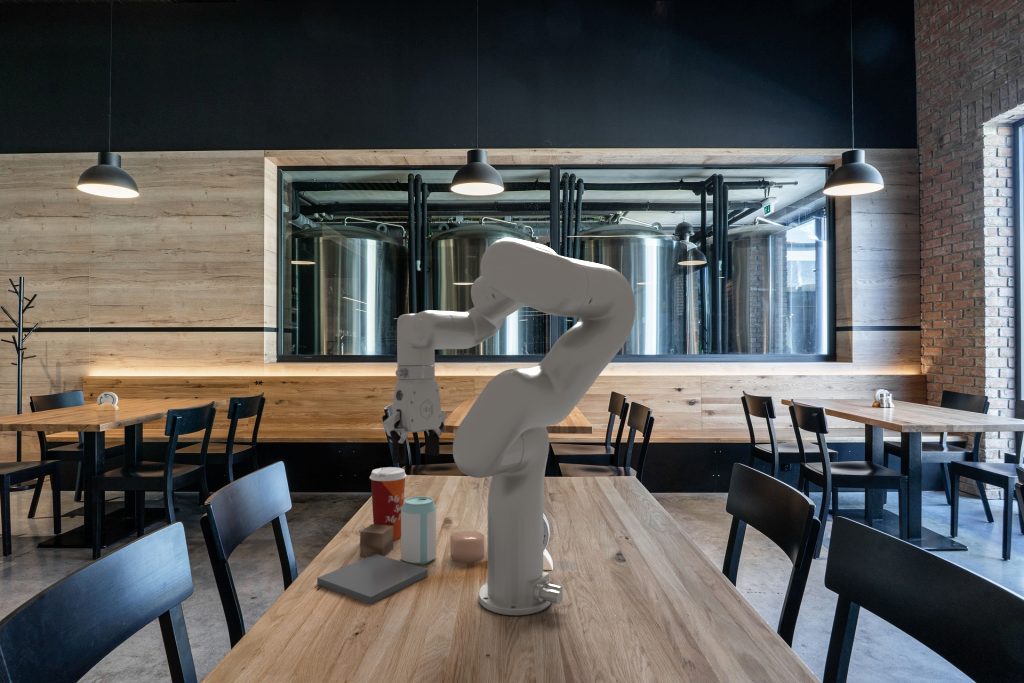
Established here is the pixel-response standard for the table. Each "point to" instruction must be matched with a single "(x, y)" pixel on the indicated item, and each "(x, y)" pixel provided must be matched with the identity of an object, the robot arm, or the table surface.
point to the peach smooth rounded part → (467, 546)
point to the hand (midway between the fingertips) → (416, 458)
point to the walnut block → (376, 540)
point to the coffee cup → (388, 497)
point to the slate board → (372, 578)
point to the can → (418, 530)
